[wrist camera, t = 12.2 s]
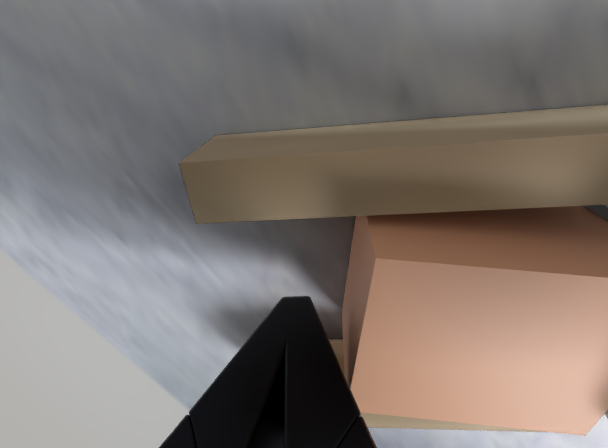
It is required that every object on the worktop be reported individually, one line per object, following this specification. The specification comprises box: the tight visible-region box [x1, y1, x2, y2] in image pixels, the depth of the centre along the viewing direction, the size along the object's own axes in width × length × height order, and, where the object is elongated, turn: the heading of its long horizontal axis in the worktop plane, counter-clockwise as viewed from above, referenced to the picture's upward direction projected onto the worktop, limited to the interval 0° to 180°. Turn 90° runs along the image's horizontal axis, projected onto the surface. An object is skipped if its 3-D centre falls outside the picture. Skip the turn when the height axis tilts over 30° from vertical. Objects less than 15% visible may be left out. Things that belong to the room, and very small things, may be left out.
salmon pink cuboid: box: [342, 206, 608, 436], centre depth 7 cm, size 4×5×3 cm
